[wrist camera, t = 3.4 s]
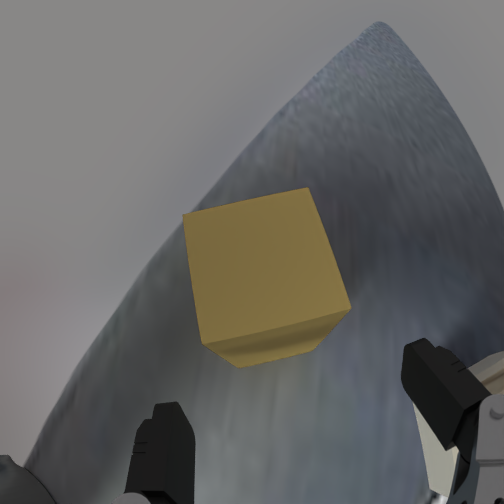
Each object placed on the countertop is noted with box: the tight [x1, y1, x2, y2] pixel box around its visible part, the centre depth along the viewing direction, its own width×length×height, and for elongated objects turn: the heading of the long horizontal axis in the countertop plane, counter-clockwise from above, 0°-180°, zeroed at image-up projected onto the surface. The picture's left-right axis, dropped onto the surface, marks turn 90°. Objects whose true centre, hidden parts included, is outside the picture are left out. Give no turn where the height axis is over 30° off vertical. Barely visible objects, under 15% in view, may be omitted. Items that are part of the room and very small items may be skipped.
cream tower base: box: [412, 351, 504, 498], centre depth 14 cm, size 8×8×4 cm
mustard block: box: [183, 187, 351, 368], centre depth 16 cm, size 5×5×11 cm
